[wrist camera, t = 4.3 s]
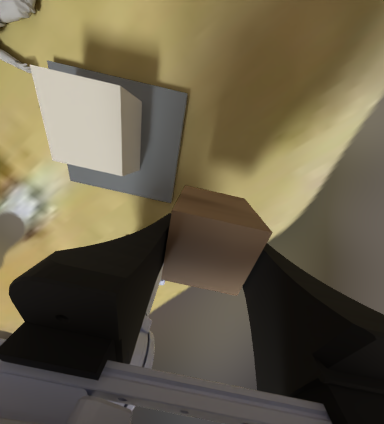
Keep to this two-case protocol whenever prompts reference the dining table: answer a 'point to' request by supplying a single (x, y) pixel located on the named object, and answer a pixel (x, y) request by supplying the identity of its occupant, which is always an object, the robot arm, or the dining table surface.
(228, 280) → the walnut cube
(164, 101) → the slate board
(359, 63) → the dining table surface
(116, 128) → the cream block
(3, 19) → the soldier figure
